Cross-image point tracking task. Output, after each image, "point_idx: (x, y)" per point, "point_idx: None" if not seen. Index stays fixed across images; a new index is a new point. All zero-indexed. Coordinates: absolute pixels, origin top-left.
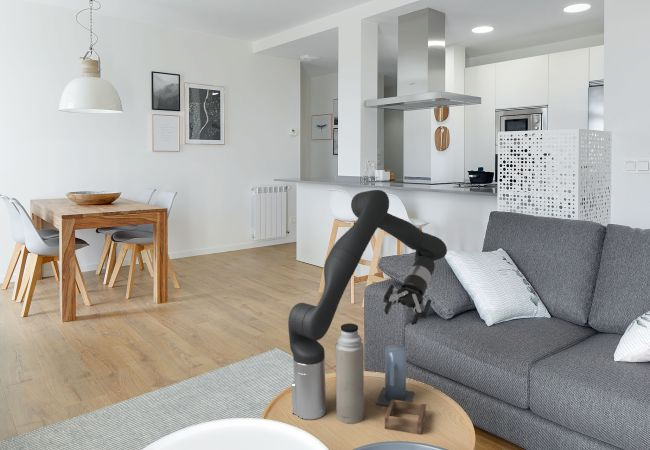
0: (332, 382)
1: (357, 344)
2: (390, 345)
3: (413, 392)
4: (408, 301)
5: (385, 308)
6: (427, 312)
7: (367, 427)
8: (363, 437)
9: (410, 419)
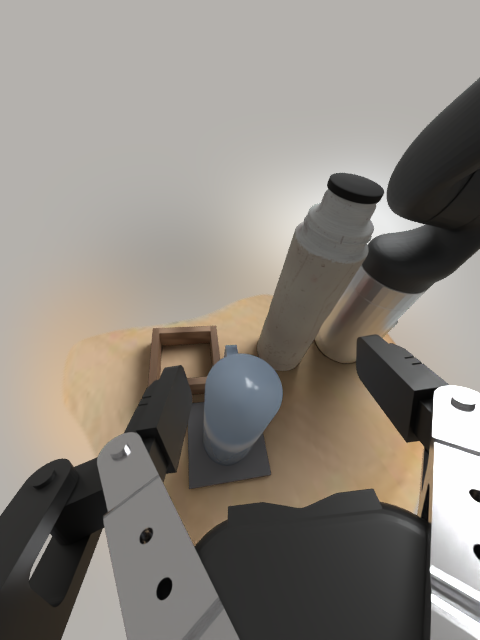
0: (383, 451)
1: (305, 217)
2: (272, 407)
3: (189, 480)
4: (282, 521)
5: (392, 346)
6: (25, 484)
7: (240, 333)
8: (236, 313)
9: (172, 332)
